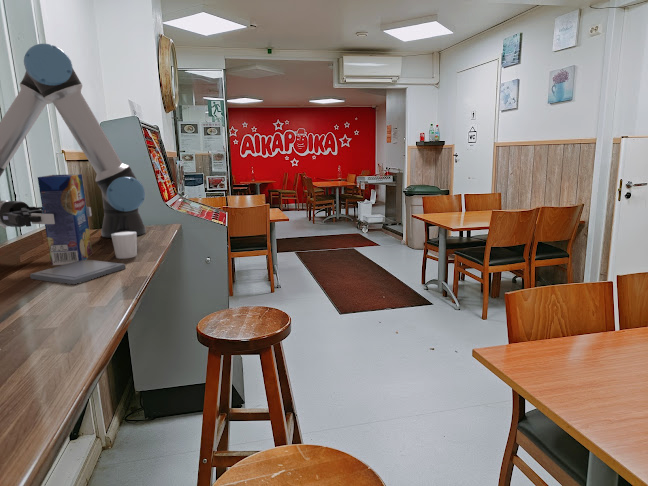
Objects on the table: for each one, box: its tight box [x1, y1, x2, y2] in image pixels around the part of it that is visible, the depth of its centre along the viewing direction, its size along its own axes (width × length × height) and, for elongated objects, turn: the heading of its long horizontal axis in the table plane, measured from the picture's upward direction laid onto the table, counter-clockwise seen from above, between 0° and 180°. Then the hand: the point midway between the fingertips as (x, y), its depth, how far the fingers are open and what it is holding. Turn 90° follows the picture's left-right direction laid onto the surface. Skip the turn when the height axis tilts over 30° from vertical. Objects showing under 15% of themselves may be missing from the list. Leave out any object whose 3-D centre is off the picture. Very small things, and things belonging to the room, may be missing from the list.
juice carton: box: [37, 173, 93, 266], centre depth 120 cm, size 12×8×24 cm, turn 15°
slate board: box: [29, 259, 126, 285], centre depth 108 cm, size 15×15×1 cm
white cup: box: [111, 231, 138, 260], centre depth 125 cm, size 7×7×7 cm
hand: (72, 215), depth 119 cm, fingers open, 13 cm apart
